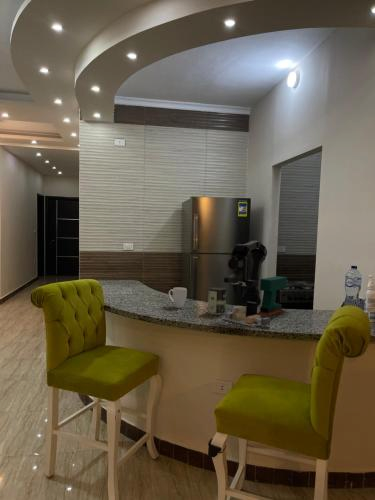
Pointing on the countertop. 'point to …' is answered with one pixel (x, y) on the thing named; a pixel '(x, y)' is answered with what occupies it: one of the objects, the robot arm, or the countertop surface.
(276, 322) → the countertop surface
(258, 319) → the sliding jaw
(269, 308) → the power tool
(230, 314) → the vise base
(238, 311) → the maple block
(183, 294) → the mug
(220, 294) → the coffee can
